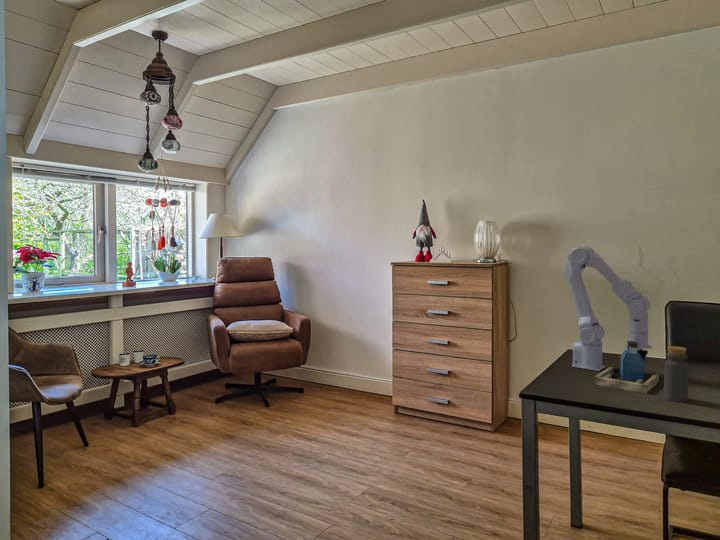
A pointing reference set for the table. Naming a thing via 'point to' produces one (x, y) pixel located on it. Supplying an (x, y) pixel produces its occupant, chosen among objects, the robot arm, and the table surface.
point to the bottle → (676, 375)
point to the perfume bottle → (631, 363)
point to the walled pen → (625, 382)
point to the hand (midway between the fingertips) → (637, 371)
